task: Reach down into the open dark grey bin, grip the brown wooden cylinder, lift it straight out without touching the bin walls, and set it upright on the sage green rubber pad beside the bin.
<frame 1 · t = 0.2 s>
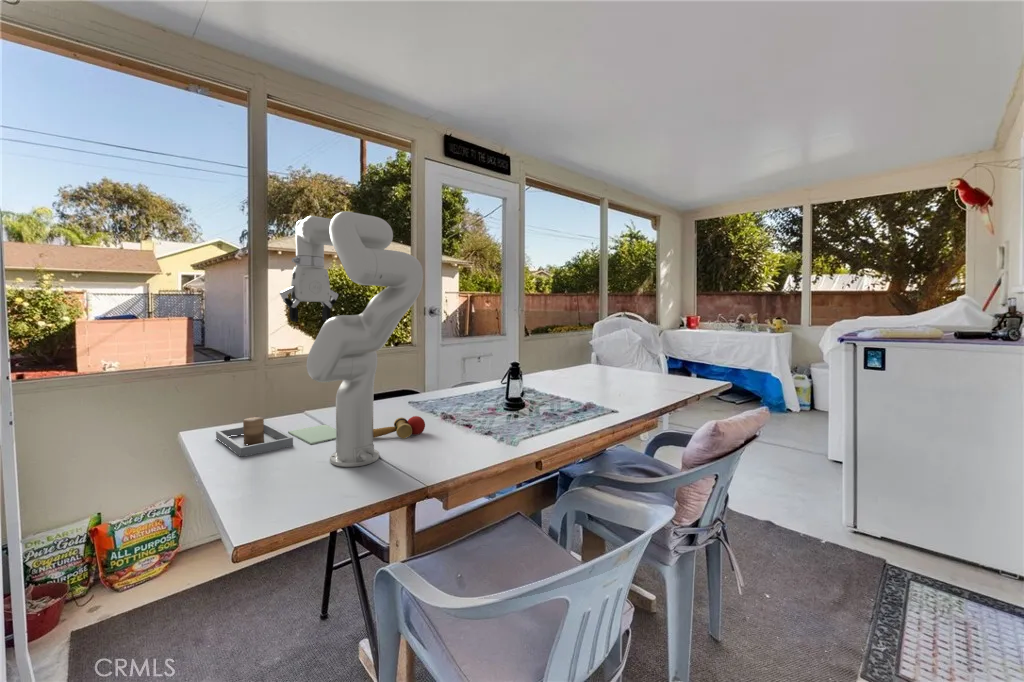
hand: (310, 321, 134), 36 cm above the table, tool pointing down, fingers open, 9 cm apart
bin: (254, 442, 132), on the table
brown wooden cylinder: (253, 431, 132), in the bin
kendama: (396, 437, 143), on the table
pad: (318, 434, 142), on the table
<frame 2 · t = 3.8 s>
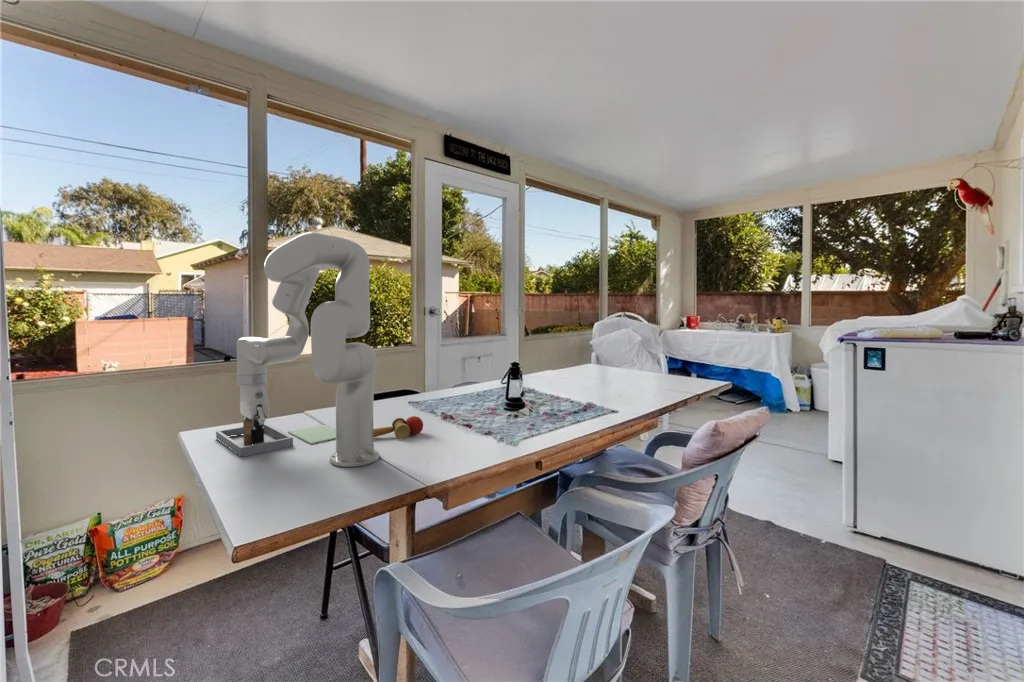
hand: (253, 439, 132), 1 cm above the table, tool pointing down, fingers closed on brown wooden cylinder, 5 cm apart
brown wooden cylinder: (253, 431, 132), in the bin, touching gripper
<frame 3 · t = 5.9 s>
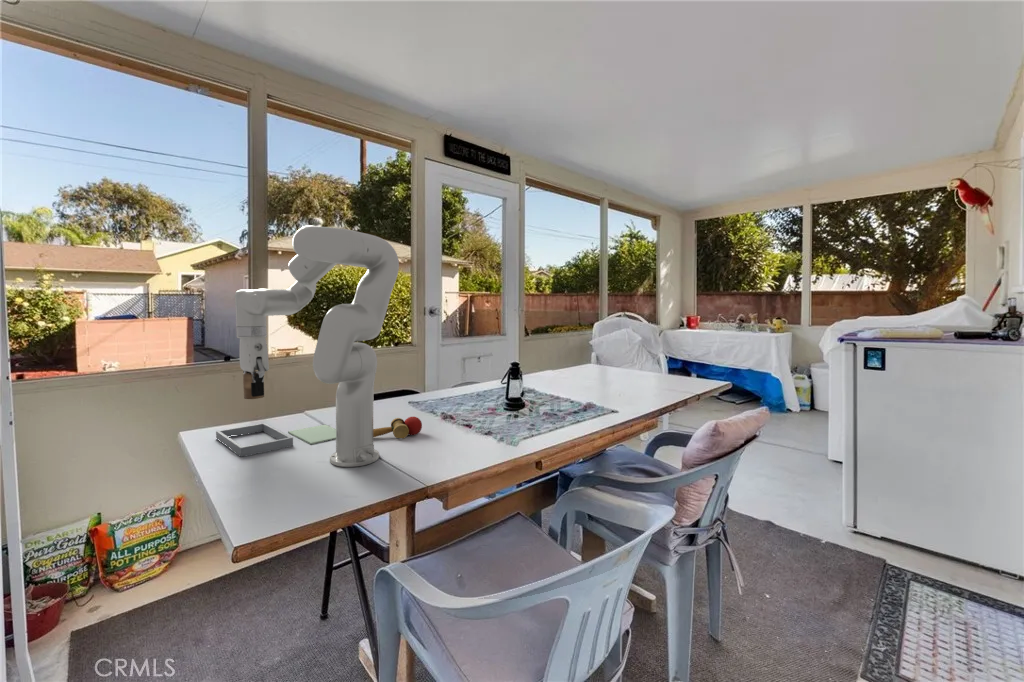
hand: (254, 393, 131), 15 cm above the table, tool pointing down, fingers closed on brown wooden cylinder, 5 cm apart
brown wooden cylinder: (253, 385, 131), point 17 cm above the table, touching gripper
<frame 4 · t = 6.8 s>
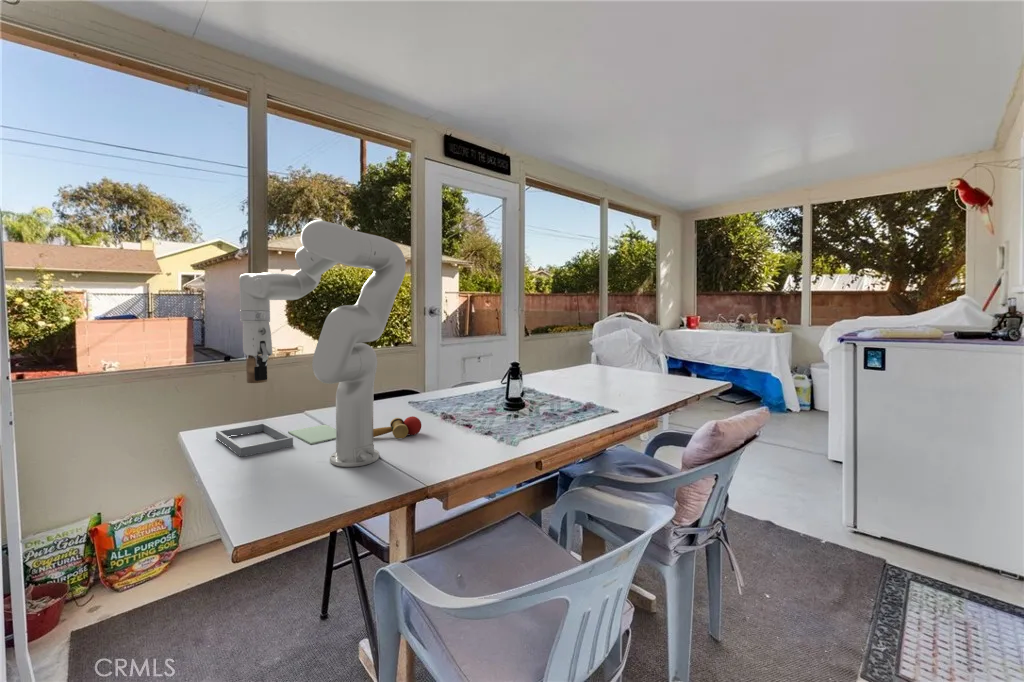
hand: (257, 378, 131), 19 cm above the table, tool pointing down, fingers closed on brown wooden cylinder, 5 cm apart
brown wooden cylinder: (256, 369, 131), point 22 cm above the table, touching gripper
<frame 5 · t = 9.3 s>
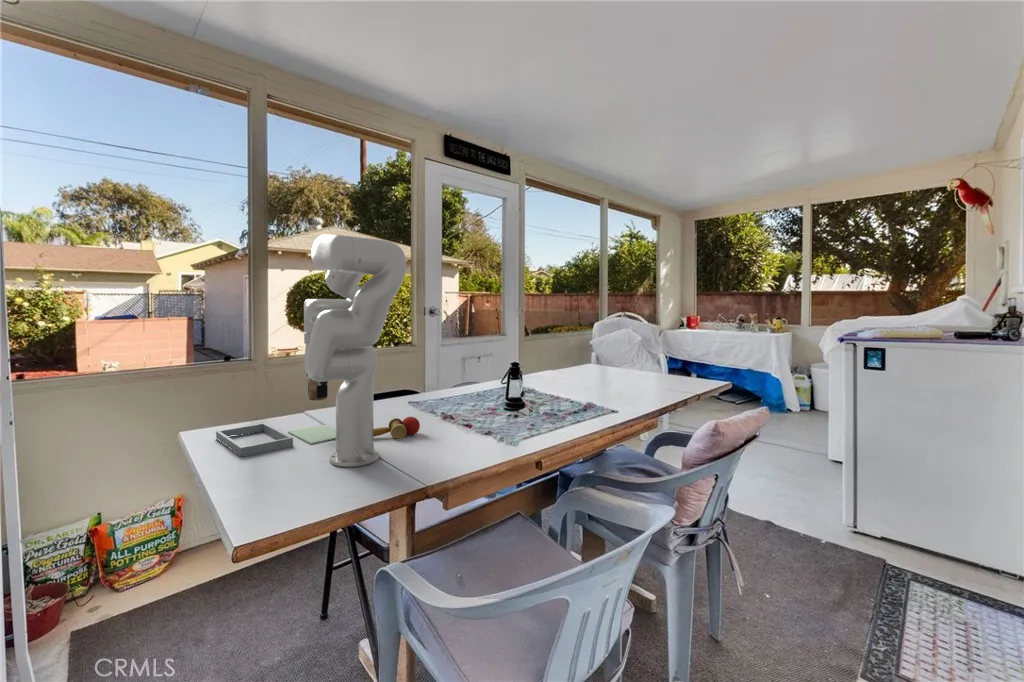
hand: (317, 395, 141), 13 cm above the table, tool pointing down, fingers closed on brown wooden cylinder, 5 cm apart
brown wooden cylinder: (317, 387, 141), point 15 cm above the table, touching gripper
when the fingers open (3 cm above the table, at t = 11.4 s): brown wooden cylinder drops 1 cm, resting on pad.
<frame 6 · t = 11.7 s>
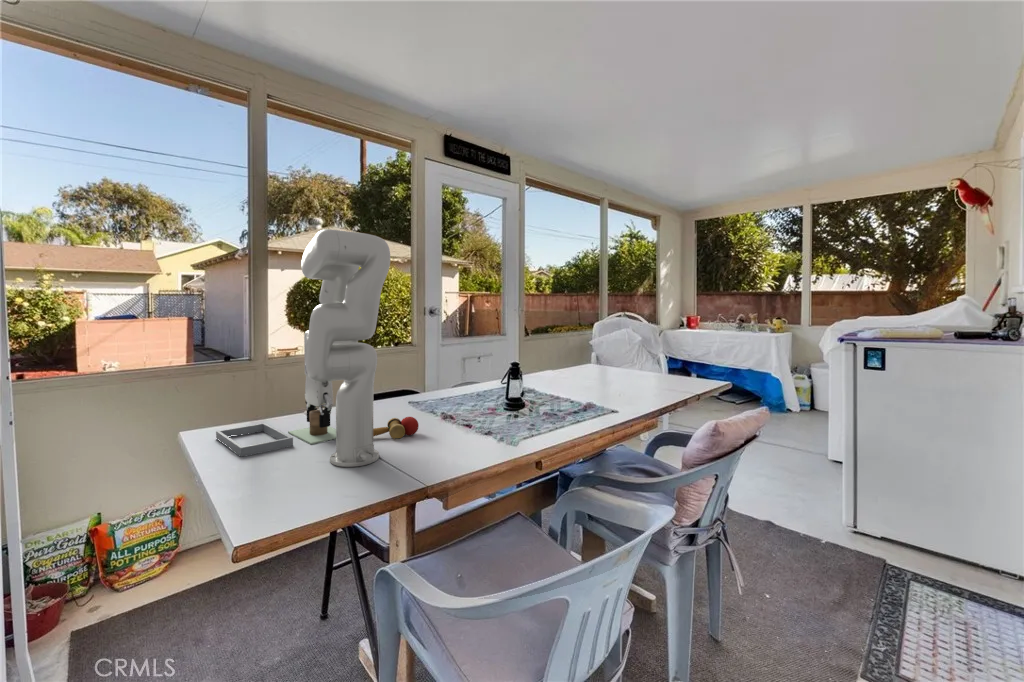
hand: (318, 423, 141), 4 cm above the table, tool pointing down, fingers open, 8 cm apart
brown wooden cylinder: (318, 422, 141), on the pad
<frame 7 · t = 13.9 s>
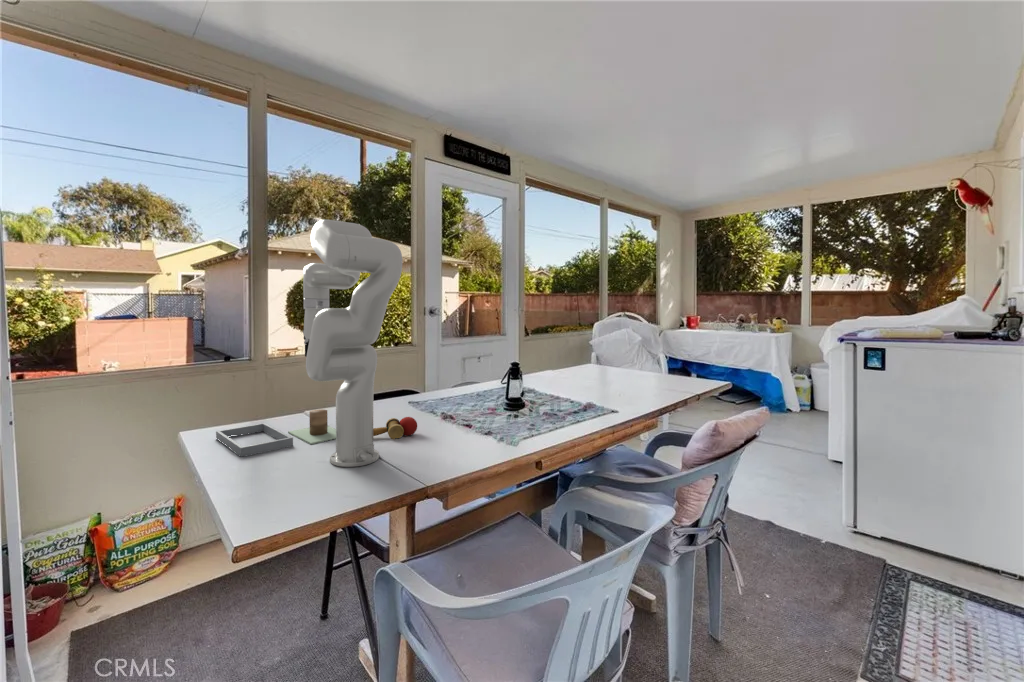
hand: (317, 358, 143), 24 cm above the table, tool pointing down, fingers open, 9 cm apart
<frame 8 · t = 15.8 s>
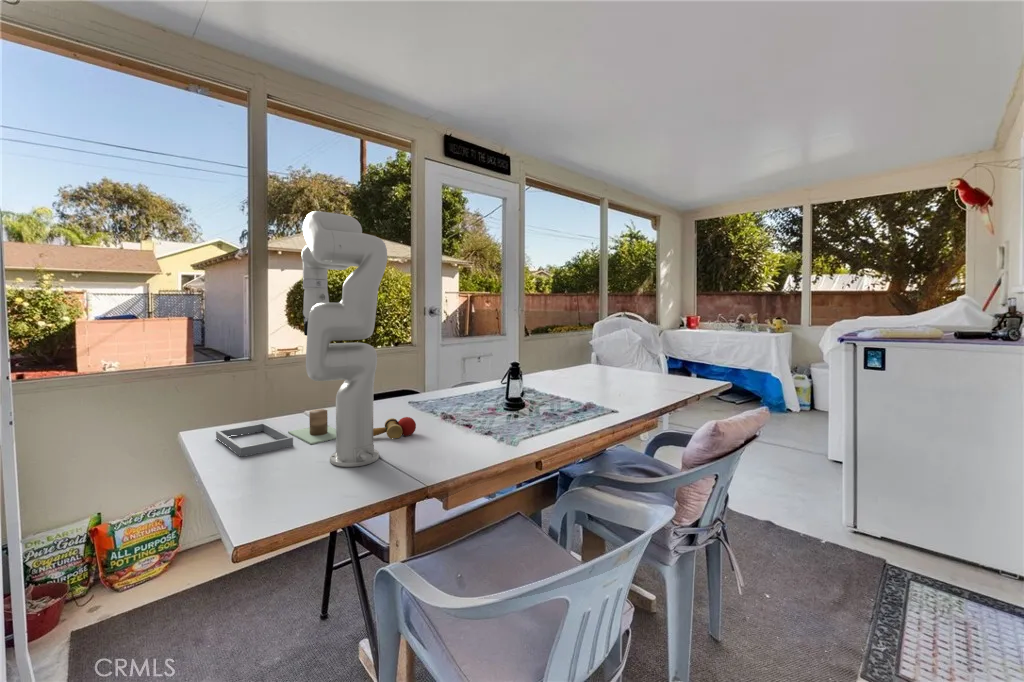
hand: (315, 336, 151), 30 cm above the table, tool pointing down, fingers open, 9 cm apart
at the end: brown wooden cylinder inside the target area on the pad (0.1 cm from its centre), point 4.1 cm above the pad's base; brown wooden cylinder tilted 1°; the gripper is holding nothing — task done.
